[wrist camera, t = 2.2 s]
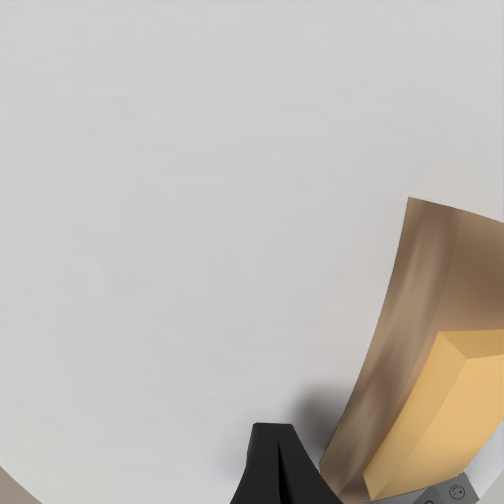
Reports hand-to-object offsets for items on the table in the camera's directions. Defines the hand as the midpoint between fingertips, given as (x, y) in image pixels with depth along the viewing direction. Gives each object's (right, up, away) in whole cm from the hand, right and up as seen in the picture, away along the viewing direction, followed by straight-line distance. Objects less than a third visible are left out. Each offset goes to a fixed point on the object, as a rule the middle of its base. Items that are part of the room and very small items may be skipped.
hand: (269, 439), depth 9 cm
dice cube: (+21, -20, +11) cm, 31 cm away
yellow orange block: (+9, -1, +1) cm, 9 cm away
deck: (+10, 0, +5) cm, 11 cm away
